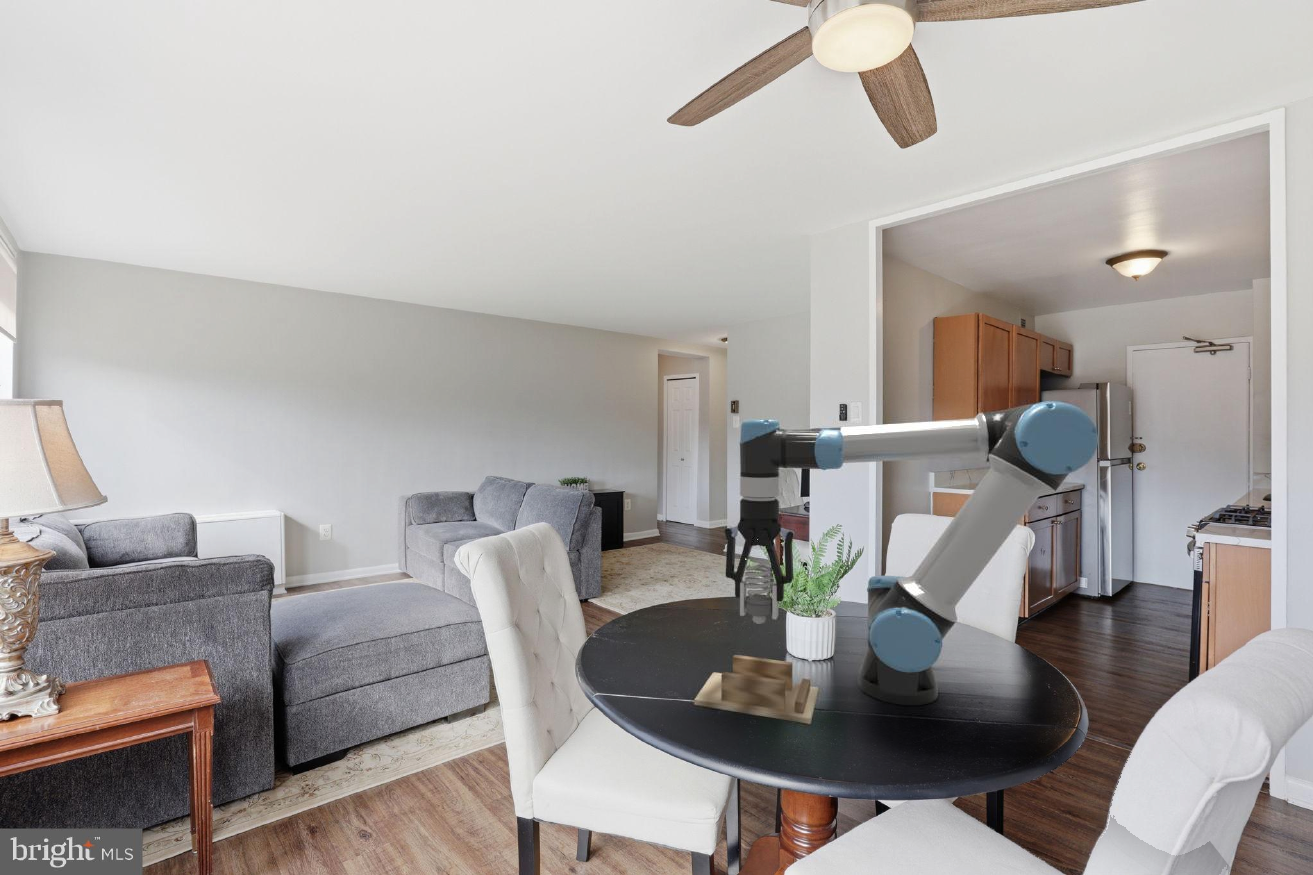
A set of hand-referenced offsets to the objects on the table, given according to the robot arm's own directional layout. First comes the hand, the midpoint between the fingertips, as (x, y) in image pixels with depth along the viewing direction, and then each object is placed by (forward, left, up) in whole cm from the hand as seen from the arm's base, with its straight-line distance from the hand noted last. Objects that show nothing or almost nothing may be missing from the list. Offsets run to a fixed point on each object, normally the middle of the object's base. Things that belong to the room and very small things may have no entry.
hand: (759, 615), depth 121 cm
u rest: (0, 0, -17) cm, 17 cm away
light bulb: (0, 0, -2) cm, 2 cm away
